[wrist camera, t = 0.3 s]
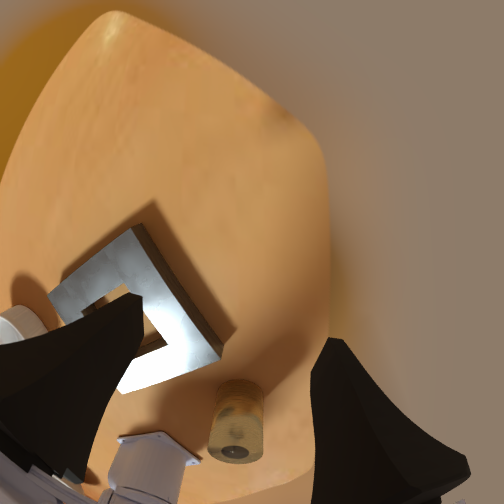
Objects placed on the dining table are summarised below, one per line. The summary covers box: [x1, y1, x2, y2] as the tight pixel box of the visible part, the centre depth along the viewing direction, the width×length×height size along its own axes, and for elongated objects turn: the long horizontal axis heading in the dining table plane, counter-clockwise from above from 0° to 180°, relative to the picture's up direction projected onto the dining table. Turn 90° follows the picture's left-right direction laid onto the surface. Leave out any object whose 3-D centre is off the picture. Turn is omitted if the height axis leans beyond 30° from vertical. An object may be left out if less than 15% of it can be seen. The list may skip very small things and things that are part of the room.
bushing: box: [207, 380, 263, 464], centre depth 20 cm, size 4×4×7 cm
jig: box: [47, 223, 224, 394], centre depth 21 cm, size 12×12×2 cm
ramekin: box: [0, 305, 48, 345], centre depth 21 cm, size 9×9×4 cm
